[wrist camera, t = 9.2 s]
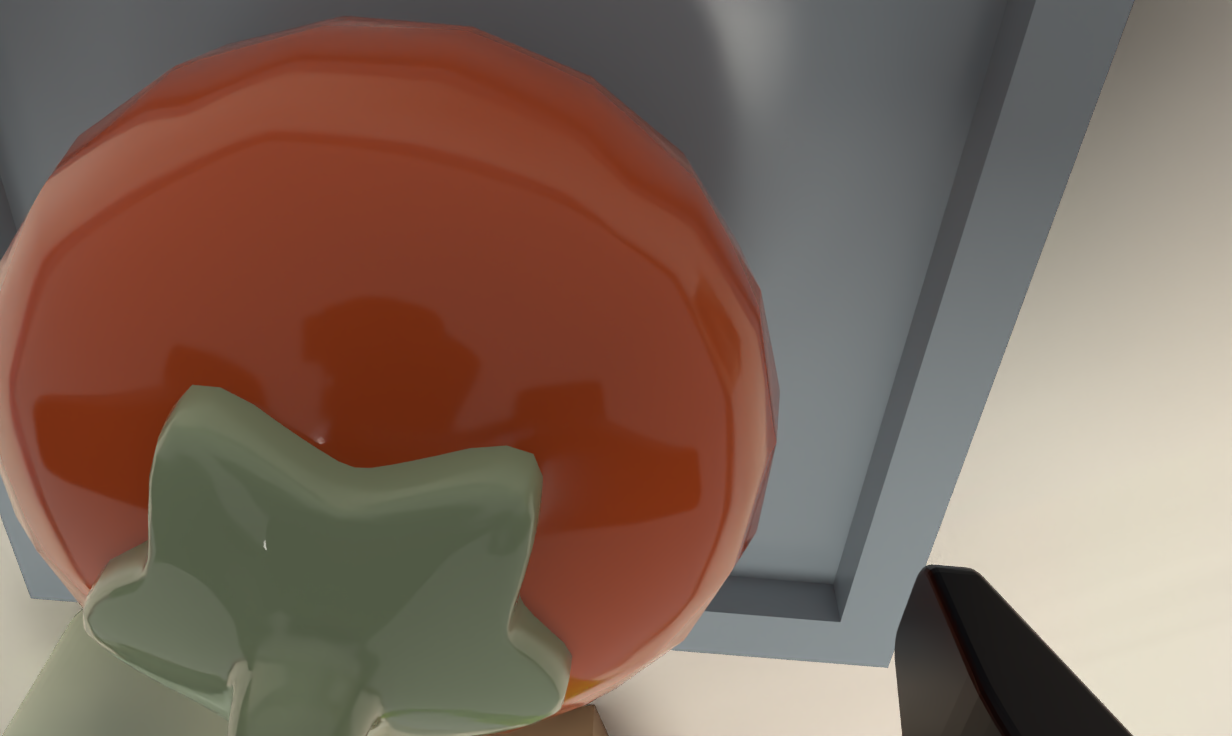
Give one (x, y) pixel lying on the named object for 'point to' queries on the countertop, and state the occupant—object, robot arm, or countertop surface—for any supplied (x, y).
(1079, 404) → the countertop surface
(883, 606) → the dish
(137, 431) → the tomato
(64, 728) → the sage green capsule
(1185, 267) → the countertop surface
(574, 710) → the walnut block
